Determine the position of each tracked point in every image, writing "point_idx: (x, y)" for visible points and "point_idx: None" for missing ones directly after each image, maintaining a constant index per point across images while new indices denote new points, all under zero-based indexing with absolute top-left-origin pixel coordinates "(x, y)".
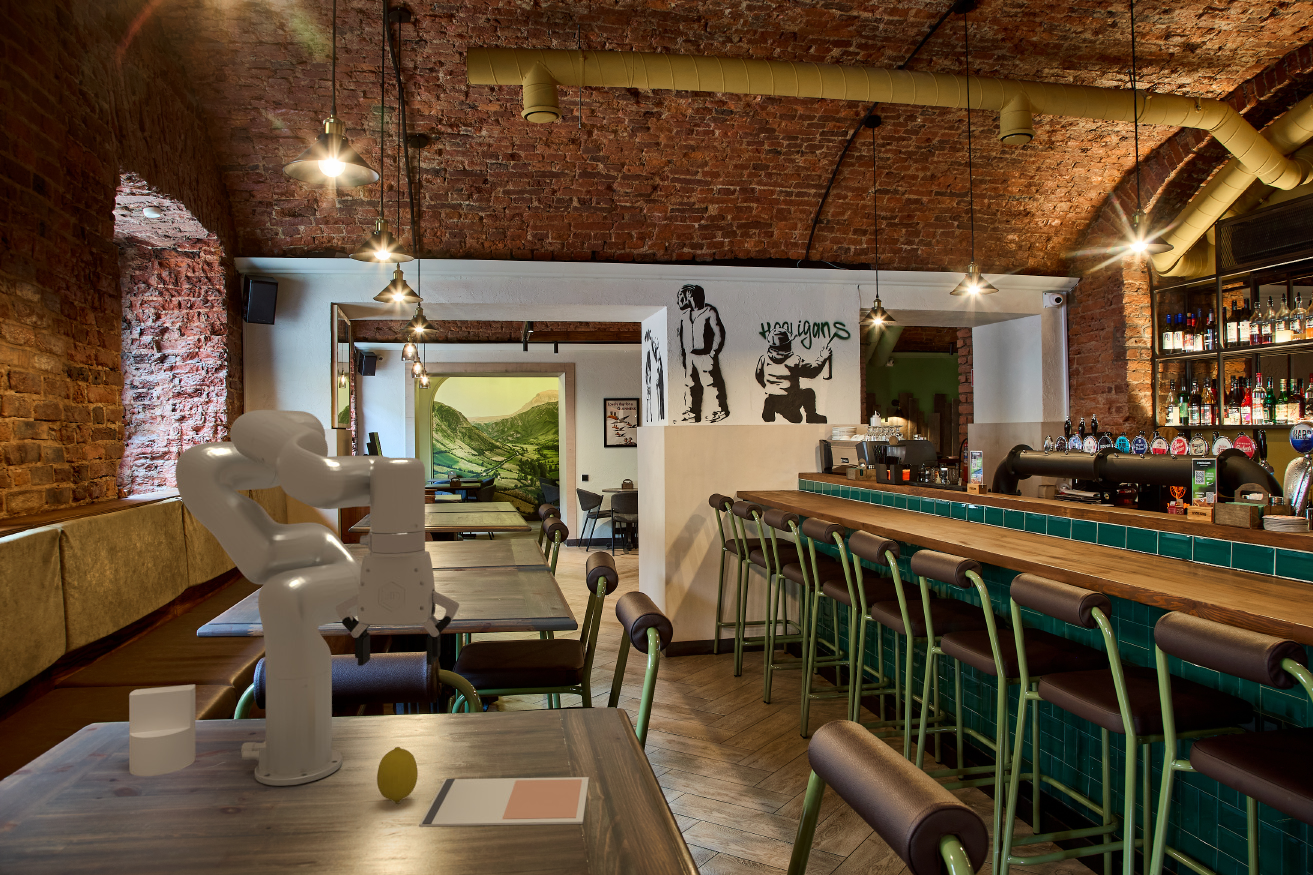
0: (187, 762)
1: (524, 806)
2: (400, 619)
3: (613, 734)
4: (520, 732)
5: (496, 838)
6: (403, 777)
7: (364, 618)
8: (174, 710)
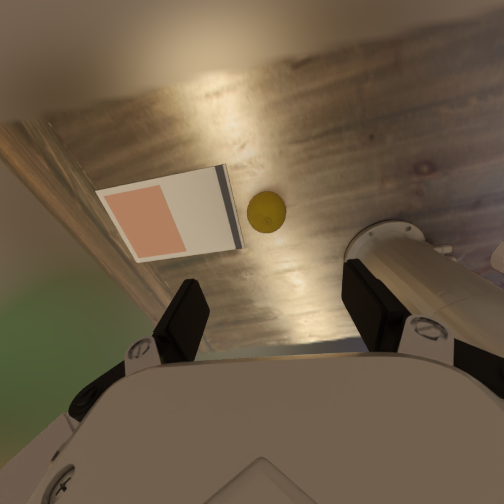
0: (499, 250)
1: (154, 209)
2: (215, 388)
3: None
4: (226, 322)
5: (147, 152)
6: (252, 199)
7: (448, 392)
8: None
